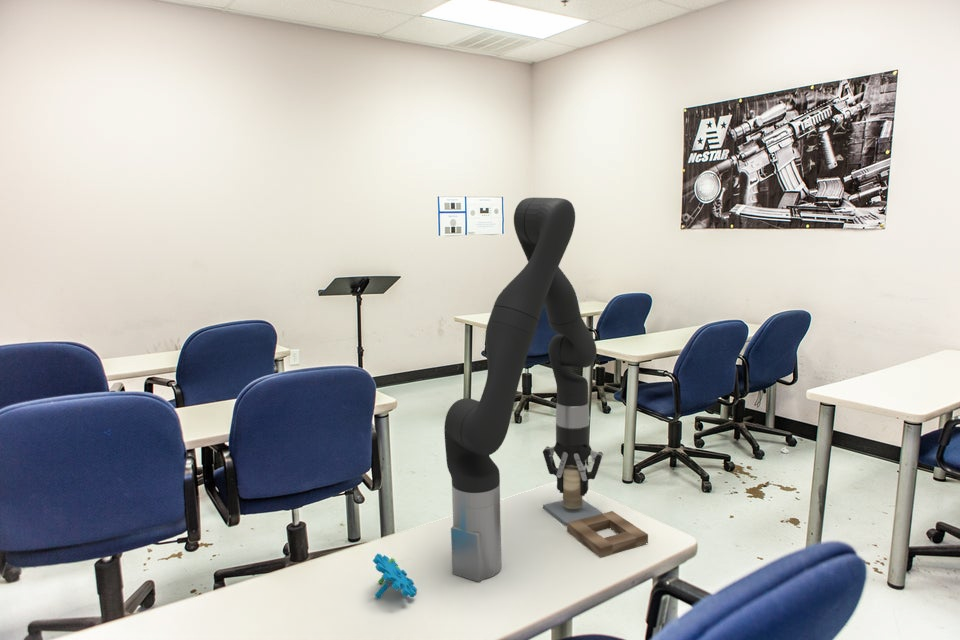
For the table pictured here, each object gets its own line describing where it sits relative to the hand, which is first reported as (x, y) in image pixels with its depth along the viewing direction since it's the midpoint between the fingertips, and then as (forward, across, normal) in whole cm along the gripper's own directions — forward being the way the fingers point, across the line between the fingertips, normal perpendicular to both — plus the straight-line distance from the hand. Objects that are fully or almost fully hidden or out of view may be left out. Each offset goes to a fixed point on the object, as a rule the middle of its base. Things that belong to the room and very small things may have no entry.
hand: (572, 492), depth 138 cm
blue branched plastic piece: (+5, -24, -41) cm, 48 cm away
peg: (+3, 0, 0) cm, 3 cm away
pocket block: (+5, +9, -9) cm, 14 cm away
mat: (+5, 0, 0) cm, 5 cm away
